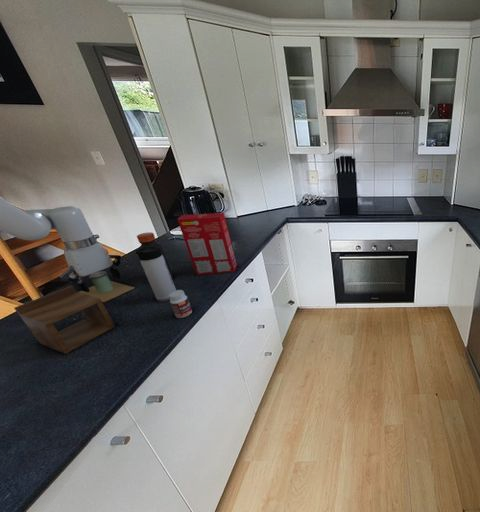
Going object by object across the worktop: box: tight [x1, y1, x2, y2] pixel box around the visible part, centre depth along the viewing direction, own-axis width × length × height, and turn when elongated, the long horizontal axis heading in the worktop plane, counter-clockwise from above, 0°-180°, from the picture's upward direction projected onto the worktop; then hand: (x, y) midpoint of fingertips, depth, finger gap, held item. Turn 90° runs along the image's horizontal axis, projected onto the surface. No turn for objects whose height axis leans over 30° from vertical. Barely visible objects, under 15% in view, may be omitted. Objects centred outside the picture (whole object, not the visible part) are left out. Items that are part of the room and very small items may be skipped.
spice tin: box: [88, 270, 114, 293], centre depth 102 cm, size 5×5×7 cm
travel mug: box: [135, 247, 177, 302], centre depth 96 cm, size 6×7×20 cm
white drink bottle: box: [136, 231, 174, 280], centre depth 107 cm, size 7×7×20 cm
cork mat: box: [79, 280, 136, 303], centre depth 103 cm, size 16×10×1 cm, turn 72°
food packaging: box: [177, 212, 238, 276], centre depth 113 cm, size 15×5×25 cm, turn 104°
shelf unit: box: [13, 284, 116, 355], centre depth 80 cm, size 12×12×13 cm
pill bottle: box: [169, 289, 193, 319], centre depth 90 cm, size 5×5×8 cm
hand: (102, 284), depth 102 cm, fingers open, 9 cm apart
